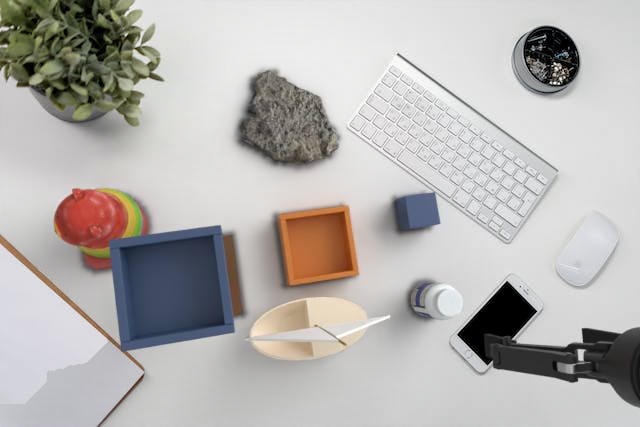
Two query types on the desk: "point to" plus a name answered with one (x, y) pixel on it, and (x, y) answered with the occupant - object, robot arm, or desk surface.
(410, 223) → the slate block
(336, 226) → the amber bin
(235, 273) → the slate bin
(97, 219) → the stacking bear
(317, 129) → the stone slab
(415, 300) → the pill bottle
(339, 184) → the desk surface
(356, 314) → the toy sailboat
